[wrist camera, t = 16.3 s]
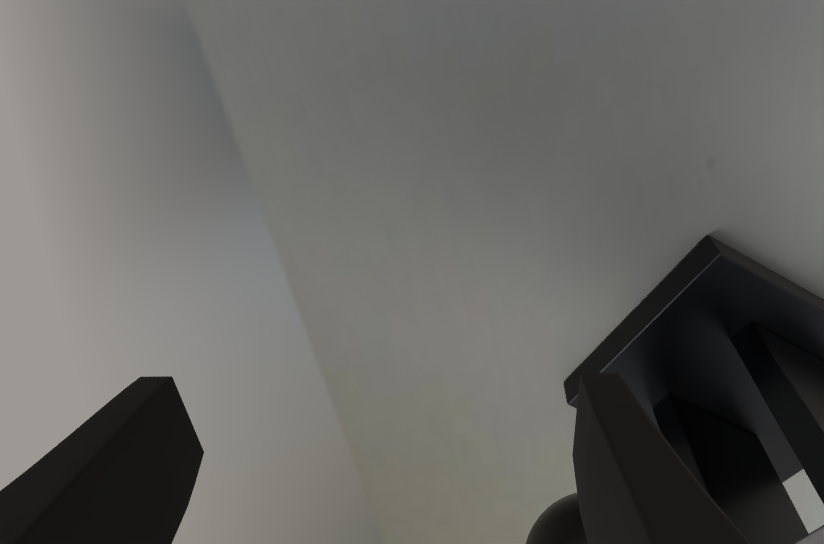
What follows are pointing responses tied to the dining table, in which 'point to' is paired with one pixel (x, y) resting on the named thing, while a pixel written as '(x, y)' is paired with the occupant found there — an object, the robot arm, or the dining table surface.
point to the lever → (564, 533)
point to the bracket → (729, 382)
